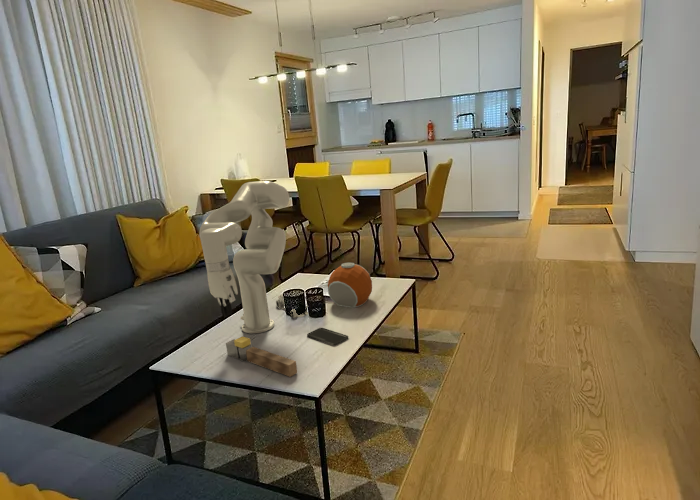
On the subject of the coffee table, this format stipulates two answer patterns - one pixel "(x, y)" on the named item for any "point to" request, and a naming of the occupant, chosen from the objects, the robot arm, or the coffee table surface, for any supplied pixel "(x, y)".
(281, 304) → the pale grey knobby bar
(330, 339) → the phone
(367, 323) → the coffee table surface
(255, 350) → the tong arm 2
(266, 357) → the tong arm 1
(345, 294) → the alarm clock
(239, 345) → the tab
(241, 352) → the tong hinge
